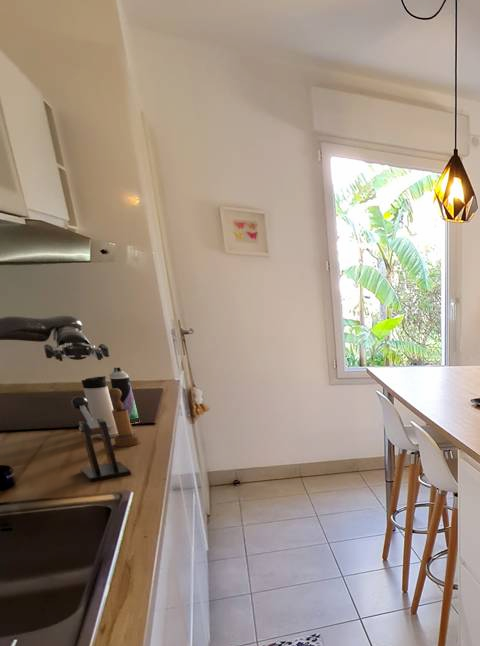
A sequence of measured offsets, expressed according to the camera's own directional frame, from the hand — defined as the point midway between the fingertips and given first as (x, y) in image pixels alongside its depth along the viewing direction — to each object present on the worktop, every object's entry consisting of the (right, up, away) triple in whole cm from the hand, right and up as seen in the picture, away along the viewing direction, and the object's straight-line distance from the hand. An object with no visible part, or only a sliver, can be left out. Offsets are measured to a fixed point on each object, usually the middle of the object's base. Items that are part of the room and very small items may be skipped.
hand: (80, 357), depth 155 cm
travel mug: (-15, -20, +30) cm, 38 cm away
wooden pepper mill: (-3, -23, +22) cm, 32 cm away
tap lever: (+6, -18, -5) cm, 20 cm away
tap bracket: (+10, -33, -3) cm, 35 cm away
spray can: (-20, -13, +46) cm, 52 cm away
